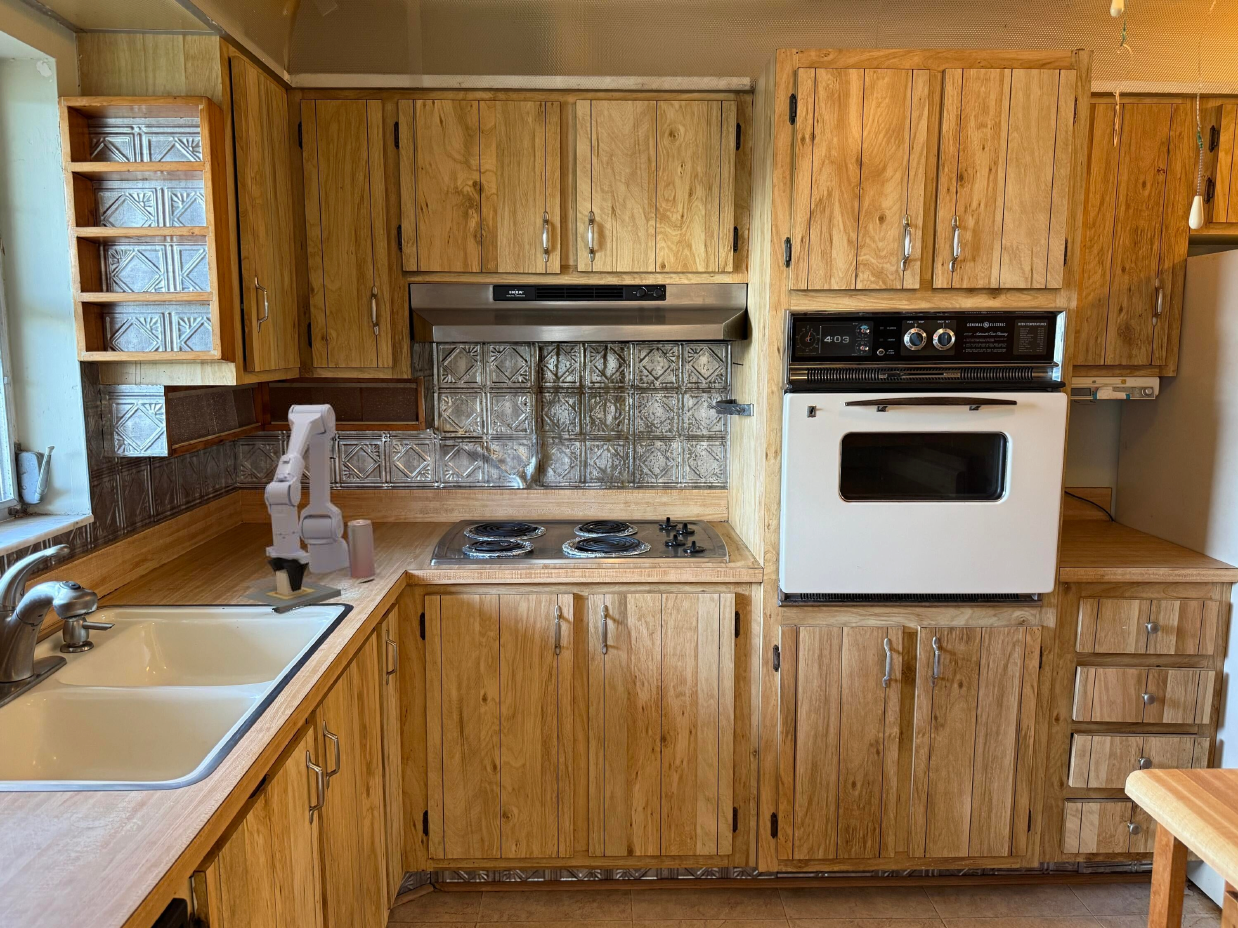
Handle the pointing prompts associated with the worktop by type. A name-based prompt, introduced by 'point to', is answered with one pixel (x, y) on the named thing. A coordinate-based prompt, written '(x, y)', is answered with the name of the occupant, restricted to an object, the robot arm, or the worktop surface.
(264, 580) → the tab
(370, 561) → the beverage can
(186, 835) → the worktop surface
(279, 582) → the peg
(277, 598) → the hole board
